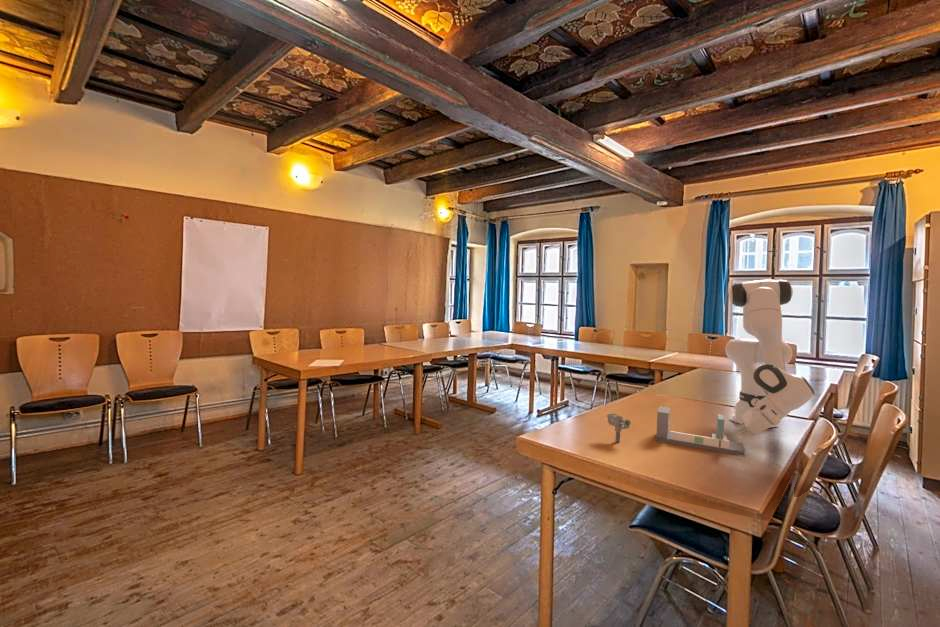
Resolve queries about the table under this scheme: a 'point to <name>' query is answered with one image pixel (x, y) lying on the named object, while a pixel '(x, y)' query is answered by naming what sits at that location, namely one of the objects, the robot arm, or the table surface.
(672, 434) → the bench
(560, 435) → the table surface
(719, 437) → the block
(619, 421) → the mechanical component
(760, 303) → the robot arm
